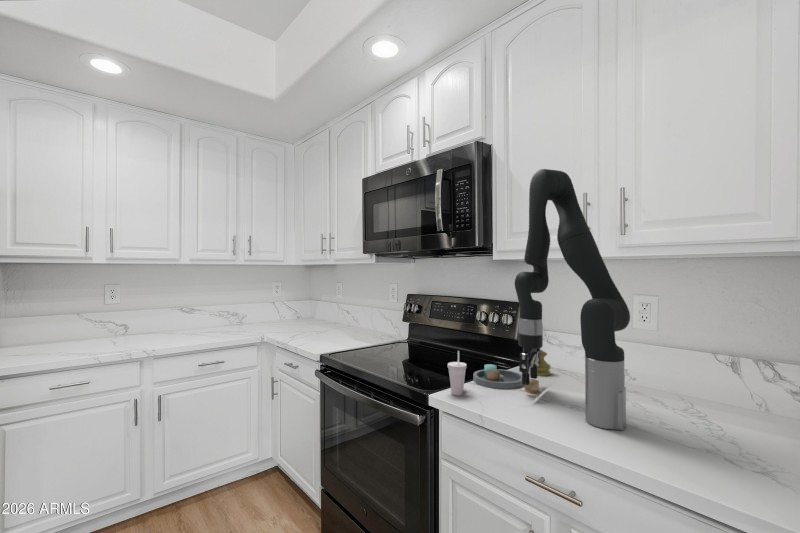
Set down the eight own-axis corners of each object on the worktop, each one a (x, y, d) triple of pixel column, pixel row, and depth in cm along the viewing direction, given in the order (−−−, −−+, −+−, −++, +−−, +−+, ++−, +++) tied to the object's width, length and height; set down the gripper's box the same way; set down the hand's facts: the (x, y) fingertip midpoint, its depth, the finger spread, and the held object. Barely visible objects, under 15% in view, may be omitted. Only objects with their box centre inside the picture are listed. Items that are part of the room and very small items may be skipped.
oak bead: (540, 393, 124) (540, 380, 124) (536, 397, 120) (536, 383, 120) (527, 391, 126) (527, 378, 126) (522, 394, 123) (522, 381, 123)
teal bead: (498, 377, 139) (498, 365, 139) (493, 380, 135) (493, 367, 135) (487, 375, 142) (487, 363, 142) (482, 378, 138) (482, 366, 138)
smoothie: (461, 398, 119) (461, 354, 120) (443, 394, 123) (443, 351, 123) (470, 392, 125) (470, 350, 125) (453, 389, 128) (453, 348, 129)
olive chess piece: (526, 373, 147) (526, 348, 148) (545, 373, 148) (545, 348, 148) (534, 379, 140) (534, 352, 140) (554, 378, 141) (554, 352, 141)
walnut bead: (496, 387, 127) (496, 374, 127) (484, 384, 130) (484, 372, 130) (501, 383, 131) (501, 371, 131) (489, 381, 134) (489, 369, 134)
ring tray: (531, 382, 136) (531, 374, 136) (514, 395, 122) (513, 386, 122) (485, 374, 147) (485, 366, 147) (464, 385, 132) (464, 376, 132)
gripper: (535, 336, 116) (534, 389, 116) (548, 330, 127) (547, 378, 127) (511, 334, 120) (511, 384, 120) (526, 328, 131) (525, 374, 132)
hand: (529, 381), depth 124 cm, fingers open, 8 cm apart
